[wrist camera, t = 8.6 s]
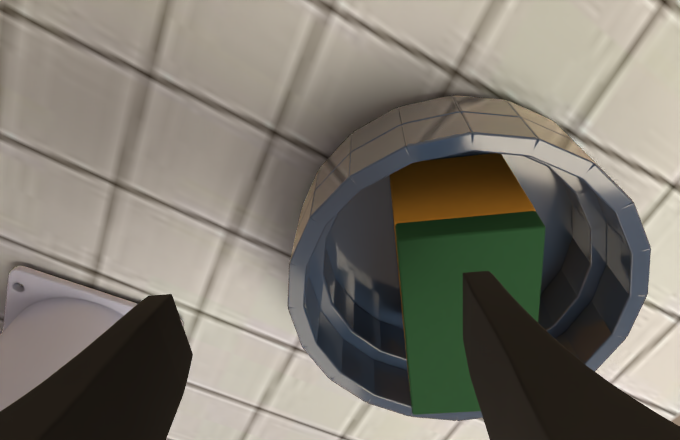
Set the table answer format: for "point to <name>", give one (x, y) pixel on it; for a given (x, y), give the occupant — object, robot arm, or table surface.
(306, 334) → the bowl
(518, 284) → the sponge
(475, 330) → the robot arm
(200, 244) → the table surface
